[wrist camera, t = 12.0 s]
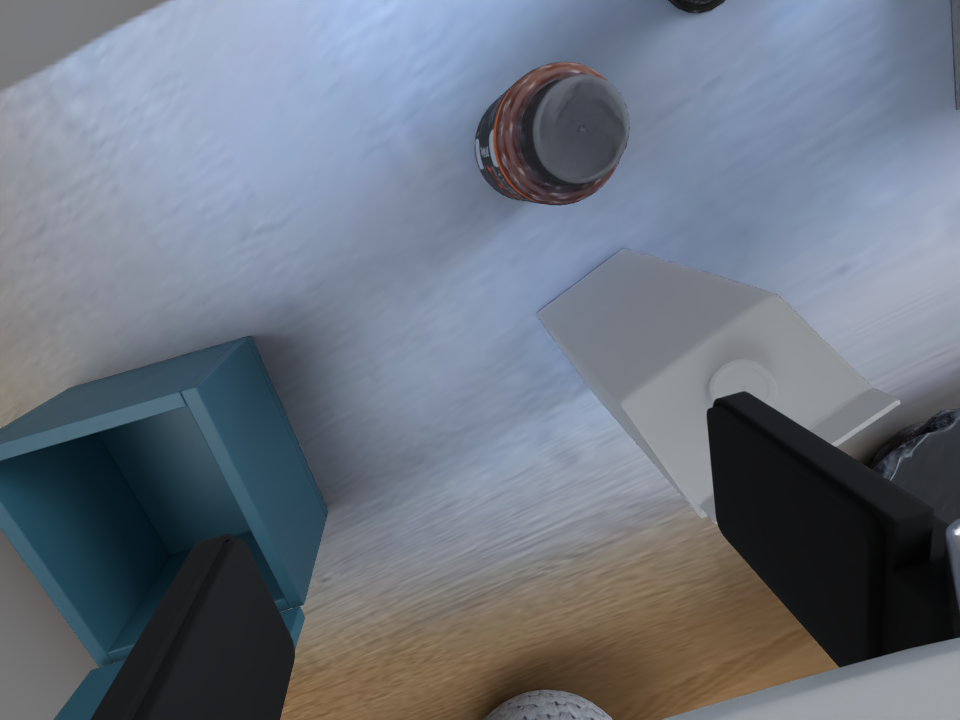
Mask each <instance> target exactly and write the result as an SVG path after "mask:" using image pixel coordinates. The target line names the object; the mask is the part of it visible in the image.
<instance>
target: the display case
mask: <svg viewBox="0 0 960 720" xmlns="http://www.w3.org/2000/svg"><path fill="white" fill-rule="evenodd" d="M951 4H952V24H953V45H954V65H955V85H956V105H957V110H958V109H960V0H951Z"/></svg>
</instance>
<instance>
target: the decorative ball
mask: <svg viewBox="0 0 960 720" xmlns="http://www.w3.org/2000/svg"><path fill="white" fill-rule="evenodd" d="M484 720H613V719H612V718H611V717H610V716H609V715H608V714H606V713H605V712H604V711H603V710H602V709H601V708H599V707H598V706H596V705H595V704H593V703H592V702H590V701H588V700H587V699H585V698H583V697H580V696H578V695H575V694H572V693H569V692H564V691H559V690H535V691H530V692H526V693H522V694H520V695H517V696H515V697H512V698H510V699H509V700H507V701H505V702H504V703H502V704H501V705H499V706H498V707H496V708H495V709H494V710H493V711H492V712H490V713H489V714H488V715H487V716H486V717H485V718H484Z"/></svg>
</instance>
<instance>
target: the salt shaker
mask: <svg viewBox="0 0 960 720" xmlns="http://www.w3.org/2000/svg"><path fill="white" fill-rule="evenodd" d="M668 1H670V2H671V3H672V4H673V5H674V6H675V7H677V8H678V9H681V10H683V11H686V12H690V13H702V12H705V11H709V10H712V9H714V8H715V7H717V6H719V5H720V4H722V3H723V2H724V1H725V0H668Z"/></svg>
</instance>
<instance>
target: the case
mask: <svg viewBox="0 0 960 720" xmlns="http://www.w3.org/2000/svg"><path fill="white" fill-rule="evenodd" d="M327 514H328V510H327V508H326V505H325V503H324V501H323V499H322V496H321V494H320V492H319V490H318V487H317V485H316V483H315V480H314V478H313V476H312V474H311V471H310V469H309V467H308V464H307V462H306V460H305V458H304V455H303V453H302V451H301V449H300V446H299V444H298V442H297V439H296V437H295V435H294V433H293V430H292V428H291V426H290V424H289V421H288V419H287V417H286V414H285V412H284V410H283V408H282V405H281V403H280V401H279V399H278V396H277V394H276V392H275V389H274V387H273V385H272V383H271V380H270V378H269V376H268V374H267V371H266V369H265V367H264V364H263V362H262V360H261V358H260V355H259V353H258V351H257V348H256V346H255V344H254V342H253V339H252V337H251V336H248V337H244V338H241V339H237V340H234V341H230V342H227V343H223V344H220V345H216V346H213V347H210V348H206V349H203V350H199V351H196V352H192V353H189V354H185V355H182V356H179V357H175V358H172V359H168V360H165V361H161V362H158V363H154V364H151V365H147V366H144V367H141V368H137V369H134V370H130V371H127V372H123V373H120V374H116V375H113V376H110V377H106V378H103V379H99V380H96V381H92V382H89V383H85V384H82V385H79V386H75V387H72V388H69V389H67V390H65V391H64V392H62V393H60V394H58V395H57V396H55V397H53V398H52V399H50V400H48V401H47V402H45V403H43V404H42V405H40V406H38V407H36V408H35V409H33V410H31V411H30V412H28V413H26V414H25V415H23V416H21V417H20V418H18V419H16V420H15V421H13V422H11V423H9V424H8V425H6V426H4V427H3V428H1V429H0V529H1V530H2V531H3V533H4V534H5V536H6V537H7V538H8V540H9V541H10V543H11V544H12V545H13V547H14V548H15V550H16V551H17V552H18V554H19V555H20V557H21V558H22V559H23V561H24V562H25V564H26V565H27V566H28V568H29V569H30V571H31V572H32V573H33V575H34V576H35V578H36V579H37V581H38V582H39V583H40V585H41V586H42V587H43V589H44V590H45V592H46V593H47V595H48V596H49V597H50V599H51V600H52V602H53V603H54V604H55V606H56V607H57V609H58V610H59V612H60V613H61V614H62V616H63V617H64V618H65V620H66V621H67V623H68V624H69V626H70V627H71V628H72V630H73V631H74V633H75V634H76V635H77V637H78V638H79V640H80V641H81V642H82V644H83V645H84V647H85V648H86V649H87V651H88V652H89V654H90V655H91V657H92V658H93V659H94V661H95V662H96V663H97V665H98V666H99V667H102V666H106V665H109V664H112V663H113V662H114V663H115V662H118V661H122V660H125V659H127V657H128V655H129V654H130V652H131V650H132V649H133V647H134V645H135V644H136V642H137V640H138V639H139V637H140V635H141V633H142V632H143V630H144V628H145V627H146V625H147V623H148V622H149V620H150V618H151V617H152V615H153V613H154V612H155V610H156V608H157V607H158V605H159V603H160V601H161V600H162V598H163V596H164V595H165V593H166V591H167V590H168V588H169V586H170V585H171V583H172V581H173V580H174V578H175V576H176V575H177V573H178V571H179V569H180V568H181V566H182V564H183V563H184V561H185V559H186V558H187V556H188V554H189V553H190V551H191V549H192V548H193V546H194V545H195V544H196V543H197V542H199V541H202V540H206V539H210V538H213V537H217V536H221V535H224V534H231V535H232V536H234V537H235V539H238V538H241V539H243V540H244V541H245V543H246V544H247V546H248V549H249V551H250V553H251V555H252V557H253V559H254V561H255V563H256V565H257V567H258V569H259V571H260V573H261V575H262V577H263V579H264V582H265V584H266V586H267V588H268V590H269V592H270V594H271V596H272V598H273V600H274V602H275V604H276V606H277V608H278V610H279V612H281V611H285V610H288V609H290V608H295V607H298V606H301V605H304V603H305V599H306V595H307V591H308V587H309V584H310V580H311V576H312V572H313V568H314V564H315V560H316V556H317V552H318V549H319V545H320V541H321V537H322V533H323V529H324V525H325V521H326V518H327Z"/></svg>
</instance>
